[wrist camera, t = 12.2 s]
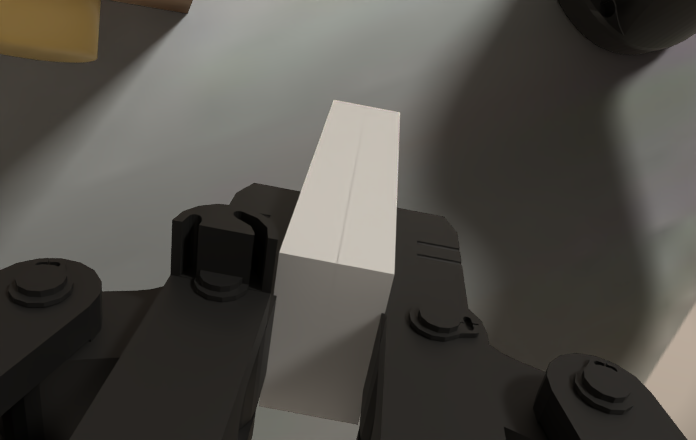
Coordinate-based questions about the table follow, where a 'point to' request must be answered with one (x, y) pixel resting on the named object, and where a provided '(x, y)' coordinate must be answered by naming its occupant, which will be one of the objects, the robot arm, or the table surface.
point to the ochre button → (50, 29)
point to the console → (162, 4)
